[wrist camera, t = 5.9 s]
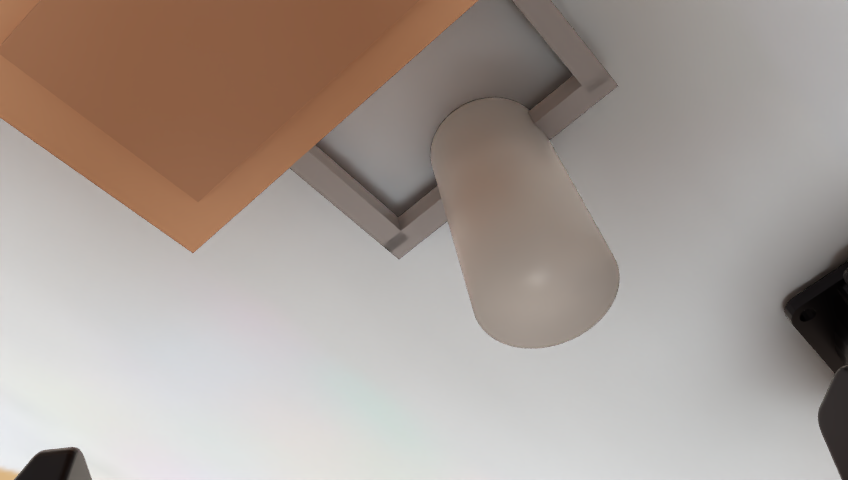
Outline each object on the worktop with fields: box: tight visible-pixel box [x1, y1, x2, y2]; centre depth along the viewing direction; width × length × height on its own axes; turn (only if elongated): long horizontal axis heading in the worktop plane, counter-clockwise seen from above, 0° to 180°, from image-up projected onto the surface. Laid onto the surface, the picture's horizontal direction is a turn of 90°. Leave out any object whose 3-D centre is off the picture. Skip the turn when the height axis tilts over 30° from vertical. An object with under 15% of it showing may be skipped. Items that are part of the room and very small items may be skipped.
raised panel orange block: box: [0, 0, 619, 348], centre depth 15 cm, size 8×11×6 cm
